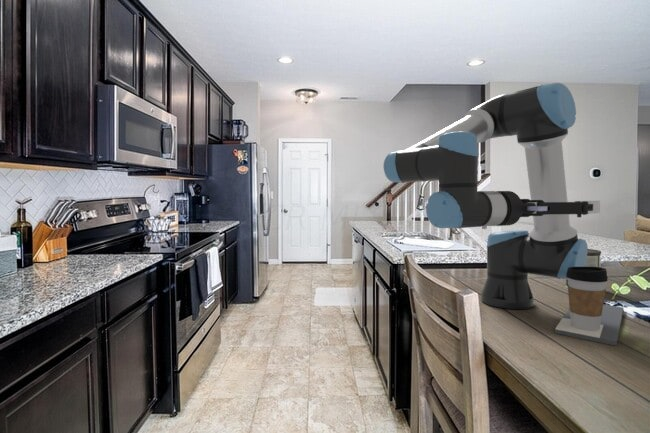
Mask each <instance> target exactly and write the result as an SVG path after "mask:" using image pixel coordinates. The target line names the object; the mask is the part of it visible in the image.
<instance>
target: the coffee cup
mask: <svg viewBox="0 0 650 433" xmlns="http://www.w3.org/2000/svg"><path fill="white" fill-rule="evenodd" d="M566 277H567V278H568V288H567V294H568V295H567V296H568V304H569V307H570V317H571V325H572V326H573V327H575V328H578V329H582V330H587V331H597V330H599V329H600V323H601V315H602V310H603V305H604V301H605V296H606V282H608V281H609V280H608V278H609V277H608V272H607V268H604V267H601V266H600V267H569V268H568V270H567V273H566Z"/></svg>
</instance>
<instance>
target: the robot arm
mask: <svg viewBox="0 0 650 433" xmlns="http://www.w3.org/2000/svg"><path fill="white" fill-rule="evenodd" d="M576 114H577V109H576V103H575V100H574V97H573V95H572V93H571V90H570V89H569V88H568V87H567V86H566V85H565V84H563V83H560V82H551V83H545V84H540V85H537V86H533V87H530V88H525V89H521V90H517V91H513V92H512V91H511V92H507V93H503V94H500V95H498V96H494V97H492V98H490V99H488V100H486V101H485V102H483V103H481V104H479V105H477V106H475V107H474V108H471V109H470V110H468V111H467V112H465V114H463V116H462V118H461V119H459V120H458V121H455V122H454V123H452V124H450V125H448V126H446V127H445V128H443V129H441V130H439V131H437V132H436V133H434V134H432V135H430V136H429V137H427V138H425V139H423V140H421V141H420V142H418V143H416V144H413V145H411V146H409V147H407V148H406V149H403V150H400V149H398V150H396V151H392V152H390V153H388V154H387V155H386V156H385V159H384V160H383V171H384V175H385V177H386V179H387V180H389V182H392V183H402V184H406V183H416V182H417V183H419V182H435V181H438V191H437V192H433V193H432V194H431V195H429V197H428V199H427V203H426V206H425V212H426V216H427V217H426V218H428V221H429V223H430V224H431V225H432V226H433V227H436V228H438V229H465V228H468V229H469V228H479V227H481V229H482V230H486V229H487V228H488V227H502V226H512V225H515V224H516V223H517V222H518V221H519V220H520V219H521V218H528V217H532V218H533V226H534V227H533V229H531V231H528V230H527V229H525V230H524V229H523V230H522V229H521V230H507V231H497V232H491V233H490V234H489V235H488V237H487V244H486V259H487V260H486V279H485V282H484V285H483V288H482V290H481V293H480V300H481V302H482V303H484V304H485V305H489V306H491V307H496V308H500V309H509V310H510V309H511V310H526V309H531V308H532V307H534V302H535V301H534V300H535V299H534V296H533V293H532V290H531V287H530V284H529V280H528V279H529V278H528V274H529V275H536V276H541V277H548V278H553V279H554V278H555V279H558V280H563V279H564V280H566V279H568V278H567V277H566V273H567V270H568V268H569V267H584V265H585V262H586V258H587V250H588V249H589V248H588V243H587V241H586V240H585V239H582V238H579V237H578V231H577V229H575V228H574V227H572V226H571V224H570V223H571V222H570V215H576V217H577V218H582V215H583V216H586V215H590V214H592V215H593V214H600V213H601V200H575V201H568V194H567V193H568V192H567V183H566V173H565V172H566V171H565V163H564V162H565V161H564V151H563V140H564V139H565V138H567V136H568V135H569V130H568V129H570V128H572V127H573V126H574V125H575V122H576V119H577V118H576ZM512 136H516V140H517V144H519V145H520V146H522V147H523V148H524V154H525V161H526V168H527V169H526V171H527V177H528V184H529V185H528V186H529V194H530V198H520V196H519V195H518V194H517V193H515V192H514V191H511V190H496V191H495V190H478V169H479V168H478V166H479V165H478V162H479V160H478V158H479V156H480V155H479V152H478V150H479V148H478V143H479V144H481V143H484V142H486V141H488V140H489V139H490V140H491V139H495V138H501V137H512Z"/></svg>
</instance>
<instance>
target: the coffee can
mask: <svg viewBox="0 0 650 433" xmlns="http://www.w3.org/2000/svg"><path fill="white" fill-rule="evenodd" d="M601 254H602V250H599V249H594V248H593V249H592V248H588V250H587V258H586V262H585V265H584V267H601ZM565 288H566V289H568V279H565Z"/></svg>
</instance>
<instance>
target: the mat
mask: <svg viewBox="0 0 650 433" xmlns="http://www.w3.org/2000/svg"><path fill="white" fill-rule="evenodd" d="M623 313H624V307H622V306H615V305H609V304H603V310H602V315H601V323H600V329H599V330H597V331H587V330H582V329H578V328H575V327H573V326H572V325H571V317H570V306H569V307H568V309H567V310H566V312H565V314H564V315H563V316H562V318H561V319H560V321H559V323H558V324H557V325H556V327H555V328H554V329H555V330H554V333H555V334H558V335H563V336H567V337H573V338H577V339H582V340H586V341H592V342H596V343H597V342H598V343H601V344H607V345H612V346H617V344H618V339H619V334H620V329H621V324H622V319H623Z"/></svg>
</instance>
